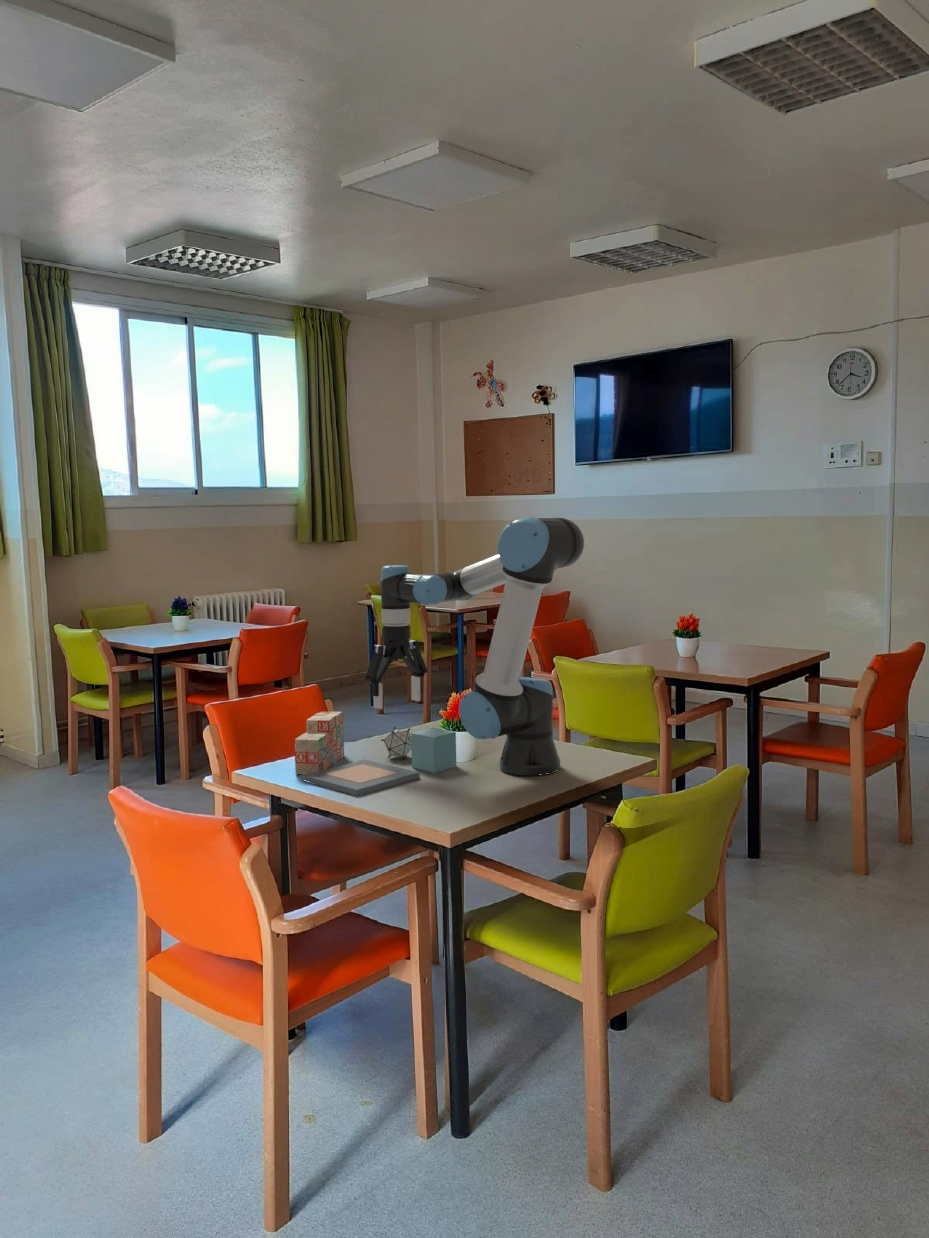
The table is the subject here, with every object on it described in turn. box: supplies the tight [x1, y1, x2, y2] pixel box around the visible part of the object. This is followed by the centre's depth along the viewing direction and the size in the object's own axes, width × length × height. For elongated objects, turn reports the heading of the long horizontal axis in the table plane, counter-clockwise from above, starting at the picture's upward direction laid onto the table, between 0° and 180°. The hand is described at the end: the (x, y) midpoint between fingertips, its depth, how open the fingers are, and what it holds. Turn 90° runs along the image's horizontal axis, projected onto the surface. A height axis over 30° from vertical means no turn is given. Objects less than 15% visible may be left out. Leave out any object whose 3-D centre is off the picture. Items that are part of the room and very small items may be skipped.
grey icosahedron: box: [380, 726, 412, 761], centre depth 254 cm, size 9×8×10 cm
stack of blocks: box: [294, 711, 345, 776], centre depth 248 cm, size 21×6×12 cm, turn 170°
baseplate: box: [302, 759, 421, 797], centre depth 233 cm, size 20×20×2 cm
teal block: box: [410, 727, 457, 774], centre depth 244 cm, size 8×8×9 cm
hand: (397, 704), depth 254 cm, fingers open, 13 cm apart
